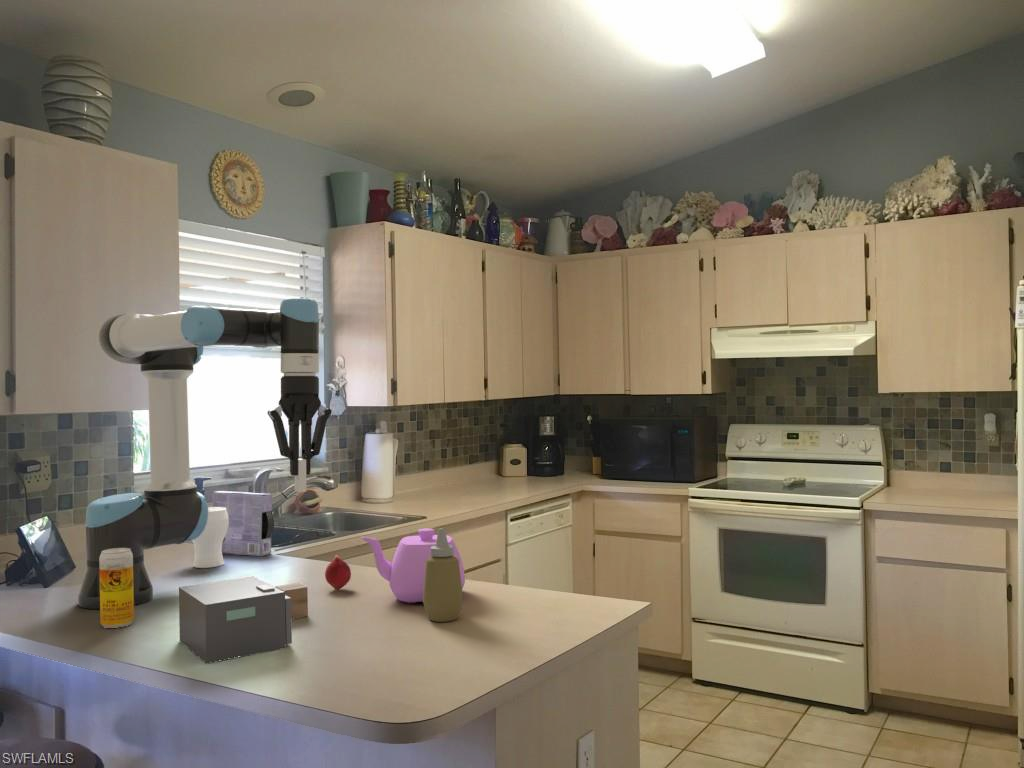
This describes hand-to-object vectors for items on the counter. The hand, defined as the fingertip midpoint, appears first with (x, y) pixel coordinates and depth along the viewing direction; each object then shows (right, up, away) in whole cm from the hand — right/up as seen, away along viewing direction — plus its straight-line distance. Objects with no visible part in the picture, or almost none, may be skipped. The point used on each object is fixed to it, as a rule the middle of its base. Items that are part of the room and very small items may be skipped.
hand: (300, 491), depth 173 cm
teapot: (+24, -26, +16) cm, 38 cm away
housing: (-8, -26, -17) cm, 32 cm away
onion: (+3, -26, +24) cm, 36 cm away
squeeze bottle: (+29, -25, -2) cm, 39 cm away
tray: (-7, -25, -16) cm, 31 cm away
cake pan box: (-34, -27, +72) cm, 84 cm away
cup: (-39, -27, +56) cm, 73 cm away
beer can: (-36, -27, -3) cm, 45 cm away
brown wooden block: (-2, -26, +2) cm, 26 cm away
